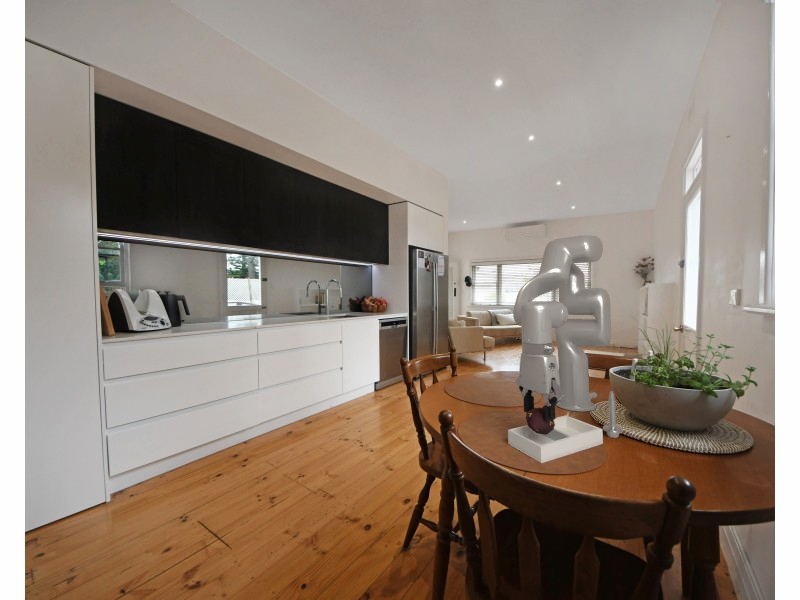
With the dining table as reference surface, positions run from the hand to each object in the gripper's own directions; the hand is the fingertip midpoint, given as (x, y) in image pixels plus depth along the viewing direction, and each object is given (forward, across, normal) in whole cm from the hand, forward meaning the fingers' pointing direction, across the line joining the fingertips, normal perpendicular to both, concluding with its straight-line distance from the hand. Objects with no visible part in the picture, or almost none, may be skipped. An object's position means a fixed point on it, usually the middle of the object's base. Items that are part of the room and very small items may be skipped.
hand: (539, 414), depth 87 cm
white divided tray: (+9, 0, -6) cm, 11 cm away
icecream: (+5, 0, 0) cm, 5 cm away
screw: (+9, -4, -24) cm, 26 cm away
